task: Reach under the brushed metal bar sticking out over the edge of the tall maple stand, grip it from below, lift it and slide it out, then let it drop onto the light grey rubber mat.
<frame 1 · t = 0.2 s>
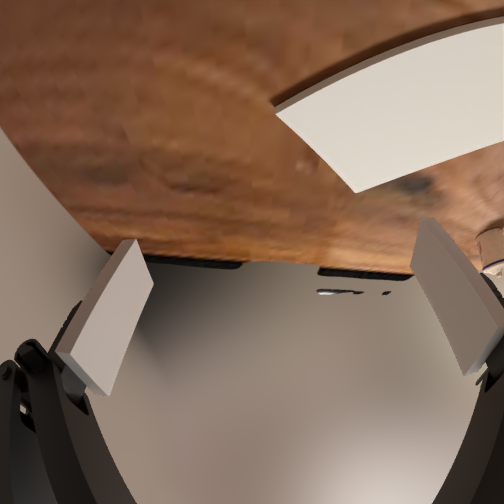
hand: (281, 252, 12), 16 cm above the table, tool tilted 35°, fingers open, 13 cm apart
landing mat: (427, 110, 22), on the table
teacup with lid: (489, 234, 54), on the table
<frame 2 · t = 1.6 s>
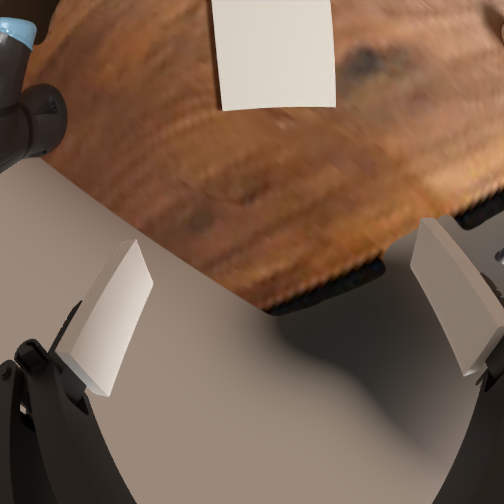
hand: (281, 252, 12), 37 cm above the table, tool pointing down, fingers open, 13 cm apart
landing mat: (274, 31, 33), on the table
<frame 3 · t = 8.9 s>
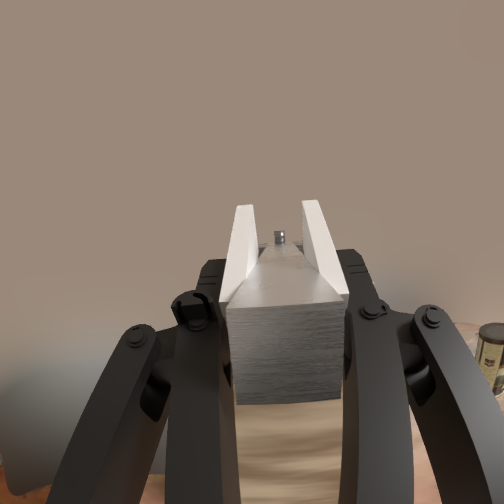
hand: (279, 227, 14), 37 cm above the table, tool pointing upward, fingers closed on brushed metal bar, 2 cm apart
brushed metal bar: (283, 290, 18), point 33 cm above the table, touching gripper, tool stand
coffee can: (485, 388, 40), on the table
when the fingers open (28 cm above the table, at t = 15.1 s): brushed metal bar drops 23 cm, resting on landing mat.
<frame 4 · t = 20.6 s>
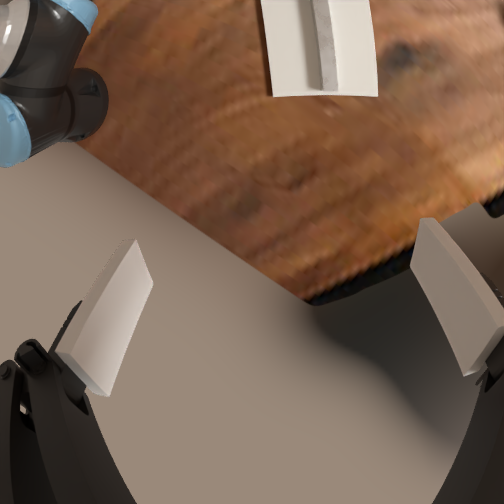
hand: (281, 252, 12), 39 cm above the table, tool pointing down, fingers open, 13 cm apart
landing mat: (319, 24, 33), on the table
brushed metal bar: (320, 24, 33), point 1 cm above the table, touching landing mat
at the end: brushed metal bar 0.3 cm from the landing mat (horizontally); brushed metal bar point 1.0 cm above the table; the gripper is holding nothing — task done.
